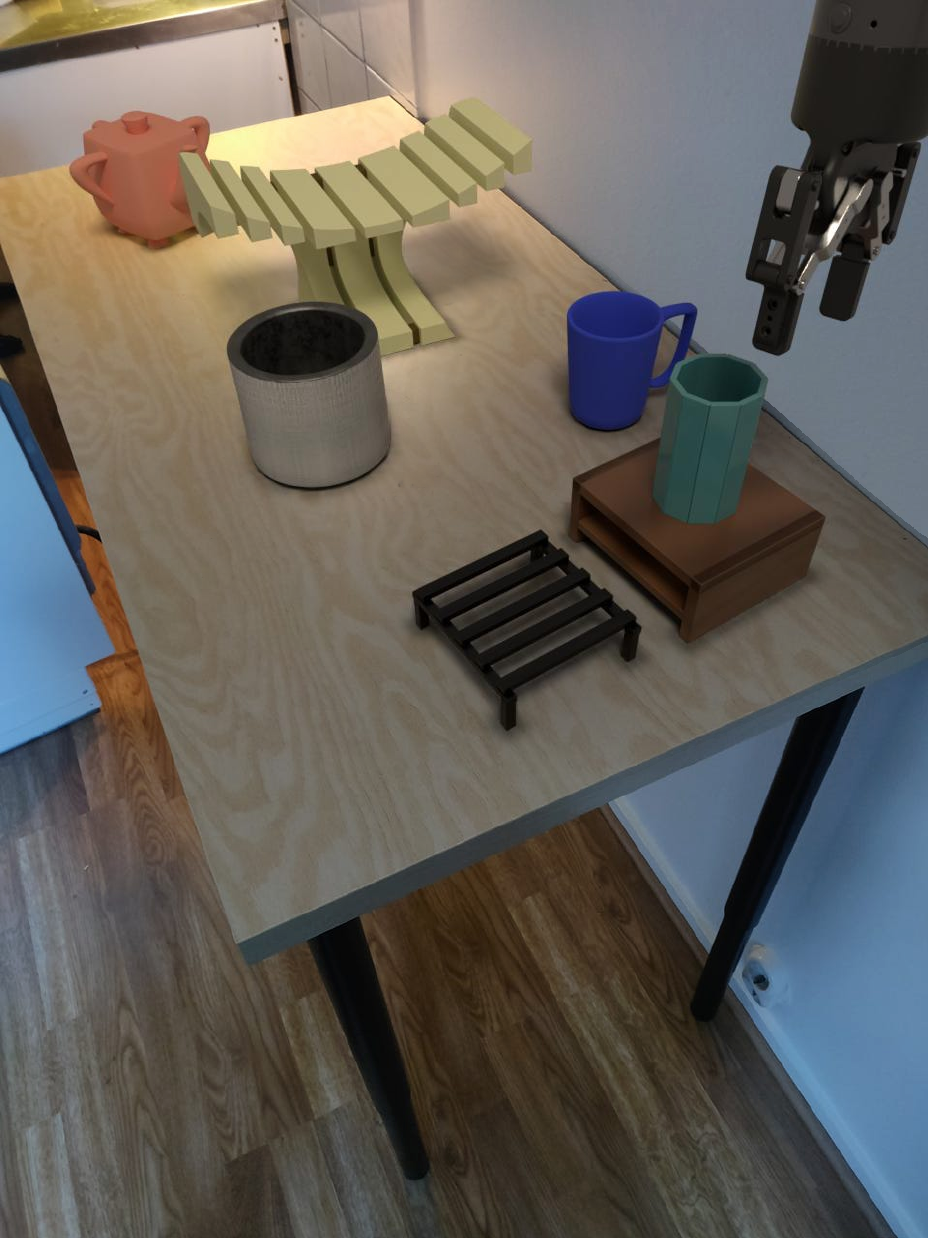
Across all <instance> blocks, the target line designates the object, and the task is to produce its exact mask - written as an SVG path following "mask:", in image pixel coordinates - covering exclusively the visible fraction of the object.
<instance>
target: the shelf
mask: <svg viewBox="0 0 928 1238" xmlns="http://www.w3.org/2000/svg"><path fill="white" fill-rule="evenodd" d="M660 440H661V436H660V437H657V438H655V439H654V440H652V441H649V442H647V443H645V444H643V445H641V446H639V447H636V448H634V449H632V450H630V451H627V452H625V453H623V454H620V455H619V456H616V457H615V458H612V459H610V460H609V461H606V462H604V463H602V464H600V465H597V466H595V467H593V468H590V469H588V470H587V471H584V472H582V473H580V474H578V475H575V476H573V477H572V484H571V485H572V486H571V501H570V515H569V531H568V536H569V538H570V539H571V540H573V541H574V542H575V543H579V542H581V541H583V540H585V539H587V538H588V539H590V541H592V542H593V543H594V544H595V545H596V546H598V548H600V549H601V550H602V551H603V552H605V554H606V555H608V556H609V557H610V558H611V559H612V560H613V561H615V563H617V564H618V565H619V566H620V567H621V568H623V569H624V570H625V571H626V572H627V573H628V574H629V575H630V576H632V577H633V578H634V580H636V581H637V582H638V583H639V584H641V586H643V588H645V589H646V590H647V591H648V592H650V593H651V594H652V595H653V596H654V597H655V598H656V599H657V600H659V602H661V603H662V604H663V605H664V606H665V607H667V608H668V609H669V610H670V611H671V612H672V613H673V614H674V615H675V616H677V617H678V618H679V619H680V620H681V624H680V629H679V634H678V636H679V637H680V638H681V639H682V640H684V641H685V642H686V643H687V644H691V642H693V641H695V640H697V639H698V638H700V637H703V636H704V635H705V634H707V633H709V632H711V631H713V630H714V629H716V628H718V627H720V626H722V625H723V624H725V623H726V622H728V621H730V620H732V619H734V618H735V617H737V616H738V615H740V614H742V613H744V612H746V611H747V610H750V609H751V608H753V607H754V606H756V605H758V604H760V603H761V602H763V601H765V600H766V599H769V598H770V597H772V596H773V595H775V594H777V593H779V592H780V591H782V590H784V589H786V588H787V587H788V586H791V585H793V584H794V583H796V582H798V581H800V580H801V579H803V578H804V577H806V576H807V574H808V571H809V569H810V564H811V562H812V560H813V556H814V553H815V551H816V548H817V545H818V541H819V538H820V535H821V533H822V529H823V527H824V524H825V521H826V518H827V516H826V515H824V514H823V513H822V512H820V511H819V510H818V509H816V508H814V507H813V506H811V505H810V504H809V503H807V502H806V501H804V500H802V498H799V497H798V496H797V495H795V494H794V493H792V492H791V491H790V490H788V489H787V488H786V487H784V486H782V485H781V484H779V483H778V482H777V481H775V480H774V479H772V478H771V477H770V476H769V475H767V474H765V473H764V472H762V471H761V470H759V469H758V468H757V467H755V466H754V465H753V464H751V463H750V462H748V466H747V470H746V474H745V478H744V482H743V487H742V491H741V495H740V499H739V502H738V506H737V510H736V513H735V514H733V515H731V516H729V517H727V518H725V519H723V520H722V521H720V522H718V523H714V524H688V522H687V523H684V522H682V521H680V520H678V519H675V518H673V517H671V516H669V515H667V514H664V512H662V511H661V509H660V508H659V506H658V505H657V503H656V501H655V500H654V498H653V497H652V493H653V486H654V479H655V473H656V466H657V459H658V453H659V446H660Z"/></svg>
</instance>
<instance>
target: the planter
mask: <svg viewBox="0 0 928 1238" xmlns="http://www.w3.org/2000/svg"><path fill="white" fill-rule="evenodd" d="M226 355H227V356H226V357H227V360H228V364H229V368H230V371H231V375H232V379H233V384H234V387H235V391H236V396H237V401H238V405H239V409H240V413H241V417H242V422H243V426H244V430H245V434H246V439H247V442H248V448H249V452H250V455H251V457H252V459H253V461H254V464H255V465H256V467H257V468H258V469H259V470H260V472H262V473H263V474H264V475H265V476H267V477H269V478H270V479H272V480H274V481H277V482H279V483H282V484H284V485H289V486H293V487H301V488H311V489H312V488H324V487H325V488H326V487H333V486H336V485H337V486H338V485H340V484H344V483H347V482H349V481H353V480H355V479H357V478H359V477H361V476H362V475H364V474H366V473H367V472H369V471H371V470H373V469H374V468H375V467H376V466H378V464H379V463H380V462H381V461H382V460H383V459H384V457H386V455H387V453H388V450H389V448H390V444H391V423H390V416H389V408H388V401H387V394H386V388H385V387H386V386H385V379H384V371H383V364H382V356H381V355H380V347H379V338H378V332H377V328H376V326H375V324H374V322H373V321H372V320H371V319H370V318H369V317H368V316H367V315H366V314H364V313H363V312H361V311H359V310H357V309H355V308H352V307H349V306H346V305H342V304H337V303H331V302H299V303H298V302H293V303H287V304H281V305H278V306H275V307H272V308H269V309H266V310H263V311H261V312H259V313H257V314H255V315H253V316H251V317H250V318H248V319H246V320H245V321H243V322H242V323H241V324H240V325H238V327H237V328H235V329H234V330H233V332H232V333H231V334H230V336H229V338H228V340H227V343H226Z"/></svg>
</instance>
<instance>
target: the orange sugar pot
mask: <svg viewBox="0 0 928 1238" xmlns="http://www.w3.org/2000/svg"><path fill="white" fill-rule="evenodd" d="M210 134H211V126H210V123H209V120H208V119H207V118H205V117H204V116H203V115H192V116H190V117H186V118H184V119H181V120H180V121H179V120H175V119H173V118H170V117H167V116H163V115H161V114H156V113H154V112H153V113H152V112H146V111H141V110H133V111H127V112H126V113H125V112H124V113H123V114H122V115H121V116H120V118H118V119H116V120H113V121H108V120H103V119H102V120H101V119H99V120H96V121H94V122H93V123H92V124H91V129H88V130H86V131H84V132H83V134H82V140H83V151H84V155H82V156H80V157H78V158H76V159H74V160H73V161H72V162H71V163H70V165H69V168H68V171H69V175H70V177H71V179H72V180H73V181H74V182H75V183H76V185H77V186H79V188H81V189H82V190H83V191H85V192H86V193H87V194H90V195H91V196H92V198H93V202H94V204H95V206H96V207H97V209H98V211H99V212H100V214H101V215H102V216H103V217H104V218H105V219H106V220H107V221H108V222H109V223H111V224H112V225H114V226H116V227H117V228H118V229H117V232H118V233H119V234H122V235H127V234H128V235H129V234H132V235H135V236H138V237H140V238H144V239H147V240H146V241H147V243H146V244H147V247H148V248H149V249H162V248H165V247H167V246H168V245H170V240H169V237H171V236H173V235H177V234H179V233H181V232H184V231H186V230H188V229H191V230H194V231H195V230H196V231H198V230H197V228H196V226H195V224H194V222H193V220H192V216H191V212H190V208H189V204H188V200H187V196H186V192H185V188H184V184H183V180H182V176H181V172H180V167H179V161H178V153H182V152H190V153H196V154H198V155H199V157H200V158H201V160H202V162H203V163H204V165H205V167H206V168H207V170H208V171H209V173H210V175H211V171H210V160H209V159H208V156H207V154H206V153H207V149H208V146H209V142H210Z"/></svg>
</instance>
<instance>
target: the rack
mask: <svg viewBox="0 0 928 1238" xmlns="http://www.w3.org/2000/svg"><path fill="white" fill-rule="evenodd" d="M528 552H529V563H527V564H525V565H524V566H522V567H519V568H518V569H515V570H513V571H511V572H510V573H507V574H505V575H503V576H501V577H499V578H498V579H495V580H493V581H491V582H489V583H486V584H485V585H483V586H481V587H479V588H476V589H475V590H473V591H471V592H469V593H467V594H465V595H463V596H461V597H459V598H457V599H455V600H452V601H450V602H448V603H447V604H445V605H443V606H441V607H439V606H438V604H436V603H435V601H434V600H433V599H435V598H436V597H439V596H441V595H443V594H445V593H447V592H449V591H451V590H453V589H455V588H457V587H459V586H462V585H463V584H465V583H468V582H469V581H471V580H473V579H475V578H477V577H479V576H481V575H483V574H485V573H487V572H490V571H491V570H494V569H495V568H498V567H500V566H502V565H504V564H506V563H508V562H511V561H512V560H515V559H516V558H518V557H520V556H522V555H524V554H526V553H528ZM556 568H558V569H559V570H561V572H562V573H564V574H565V575H564V576H562V577H560V578H558V579H557V580H555V581H552V582H551V583H548V584H547V585H544V586H543V587H541V588H539V589H537V590H535V591H533V592H531V593H529V594H527V595H524V596H523V597H521V598H519V599H517V600H515V601H513V602H511V603H509V604H508V605H505V606H503V607H502V608H500V609H498V610H495V611H493V612H492V613H490V614H488V615H486V616H484V617H482V618H480V619H478V620H476V621H474V622H472V623H469V624H468V625H466V626H464V627H462V628H461V629H459V628H458V627H457V626H456V625H455V624H454V623H453V621H452V620H454V619H456V618H458V617H460V616H462V615H464V614H466V613H468V612H470V611H472V610H474V609H476V608H479V607H481V606H482V605H484V604H485V603H488V602H490V601H492V600H493V599H495V598H498V597H499V596H502V595H504V594H506V593H508V592H509V591H512V590H514V589H516V588H518V587H519V586H521V585H523V584H526V583H527V582H529V581H531V580H533V579H536V578H537V577H539V576H541V575H543V574H545V573H547V572H549V571H551V570H553V569H556ZM591 576H592V575H591V574H590V573H589V571H587V570H586V569H585V568H584V567H580V568H579V567H578V566H577V565H575V564H574V563H573V561H571V560H570V554H569V553H568V552H567V551H565V550H564V548H562V547H559V548H557V547H556V546H555V545H554V544H552V542H551V541H550V540H549V535H548V534H547V533H546V532H545V531H544V530H543V529H541V528H540V529H538V530H536V531H534V532H532V533H530V534H528V535H525V536H524V537H521V538H519V539H517V540H515V541H513V542H511V543H509V544H507V545H505V546H503V547H501V548H499V549H497V550H495V551H492V552H491V553H488V554H486V555H484V556H482V557H480V558H478V559H476V560H474V561H472V562H470V563H467V564H466V565H463V566H462V567H459V568H457V569H455V570H453V571H451V572H449V573H447V574H445V575H443V576H440V577H438V578H437V579H435V580H432V581H430V582H428V583H426V584H424V585H422V586H420V587H418V588H416V589H415V590H412V591H411V596H412V599H413V609H414V618H415V625H416V626H417V627H418V628H419V629H420V630H421V631H422V630H424V629H427V628H429V627H430V626H431V622H430V619H431V620H432V622H433V623H434V624H435V625H436V626H437V627H438V628H439V630H440V631H441V632H442V633H443V634H444V635H445V637H447V639H448V640H449V641H450V642H451V643H452V644H453V646H454V647H455V648H456V649H457V650H458V651H459V653H460V654H461V655H462V656H463V657H464V658H465V660H467V662H468V663H469V664H470V665H471V666H472V668H473V669H474V670H475V671H476V672H477V673H478V674H479V675H480V677H481V678H482V679H483V680H484V681H485V682H486V684H487V685H488V686H489V687H490V689H492V691H493V692H494V693H495V694H496V695H497V696H498V697H499V713H500V715H499V716H500V722H499V723H500V725H501V726H502V727H503V728H504V730H506V732H507V731H510V730H511V729H513V728H515V727H517V702H518V695H517V693H515V692H514V691H515V690H516V689H519V688H520V687H522V686H524V685H525V684H527V683H530V682H531V681H533V680H535V679H537V678H539V677H540V676H542V675H544V674H546V673H548V672H549V671H552V669H555V668H557V667H559V666H561V665H562V664H564V663H566V662H567V661H569V660H571V659H573V658H575V657H577V656H579V655H580V654H582V653H584V652H586V651H587V650H589V649H592V648H593V647H595V646H596V645H598V644H600V643H602V642H604V641H606V640H607V639H609V638H611V637H612V636H615V635H617V634H619V633H620V632H622V631H623V637H622V644H621V651H620V656H621V658H622V659H623V660H624V661H626V663H629V662H631V661H632V660H634V659H636V657H637V653H638V652H637V651H638V646H639V640H640V634H641V633H642V627H643V626H641V624H639V623H638V622H637V620H638V619H637V618H638V617H637V616H636V615H635V614H634V613H633V612H632V611H631V610H629V608H627V609H625V610H624V609H623V608H622V607H621V606H620V605H619V604H618V603H616V602H615V600H614V595H613V594H612V593H611V592H610V591H609V590H608V589H607V588H606V587H603V588H600V587H599V586H598V585H597V584H596V583H595V582H594V581H593V580H592V579H591V578H592V577H591ZM577 588H579V589H580V590H582V592H584V593H585V594H586V595H587V596H586V597H584V598H582V599H580V600H578V601H576V602H574V603H572V604H570V605H569V606H567V607H565V608H562V609H561V610H559V611H557V612H555V613H553V614H551V615H550V616H548V617H545V618H544V619H542V620H540V621H538V622H536V623H535V624H532V625H531V626H528V627H526V628H525V629H523V630H521V631H519V632H517V633H515V634H514V635H512V636H509V637H507V638H506V639H504V640H502V641H500V642H497V643H496V644H494V645H493V646H490V647H489V648H487V649H485V650H483V651H481V652H479V651H478V650H477V649H476V648H475V646H474V645H473V644H472V642H474V641H476V640H478V639H481V638H482V637H484V636H486V635H488V634H490V633H492V632H494V631H495V630H497V629H500V628H501V627H504V626H505V625H507V624H509V623H511V622H513V621H515V620H516V619H519V618H520V617H522V616H524V615H527V614H528V613H530V612H532V611H534V610H536V609H538V608H540V607H541V606H544V605H545V604H548V603H549V602H551V601H553V600H555V599H557V598H559V597H561V596H563V595H565V594H567V593H569V592H571V591H573V590H575V589H577ZM599 609H602V611H604V612H605V613H606V614H608V616H609V618H608V619H607V620H605V621H603V622H601V623H598V624H597V625H595V626H594V627H591V628H589V629H588V630H586V631H584V632H582V633H579V635H577V636H575V637H573V638H572V639H569V640H568V641H566V642H564V643H562V644H560V645H558V646H557V647H555V648H553V649H550V650H549V651H547V652H545V653H544V654H542V655H540V656H538V657H536V658H534V659H532V660H531V661H529V662H527V663H525V664H523V665H521V666H519V667H518V668H516V669H514V670H512V671H511V672H509V673H507V674H505V675H503V676H500V675H499V673H498V672H497V671H496V670H495V669H494V668H493V667H492V666H494V665H496V664H498V663H500V662H502V661H503V660H505V659H507V658H509V657H511V656H513V655H514V654H516V653H518V652H520V651H522V650H524V649H526V648H528V647H529V646H532V645H533V644H535V643H537V642H539V641H541V640H543V639H545V638H546V637H548V636H550V635H551V634H554V633H556V632H558V631H559V630H562V629H563V628H565V627H568V626H569V625H571V624H573V623H574V622H577V621H578V620H581V619H582V618H584V617H585V616H588V615H589V614H591V613H594V612H595V611H597V610H599Z"/></svg>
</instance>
